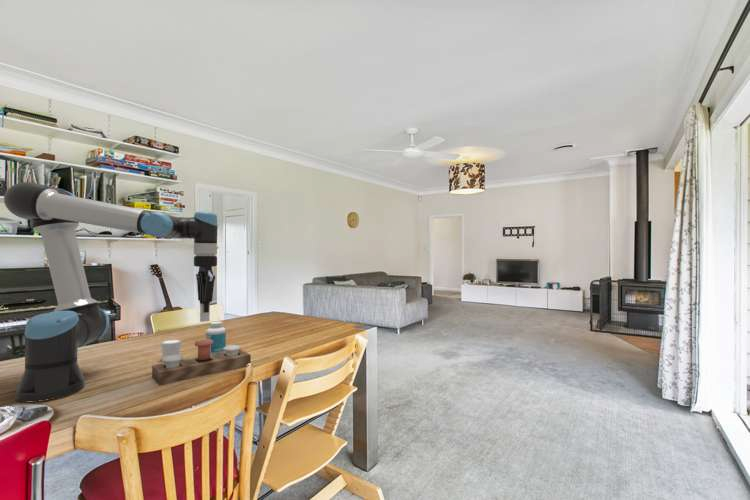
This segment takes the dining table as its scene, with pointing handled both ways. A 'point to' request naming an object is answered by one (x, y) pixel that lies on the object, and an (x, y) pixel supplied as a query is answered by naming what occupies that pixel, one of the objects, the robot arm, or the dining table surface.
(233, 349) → the grey plug right
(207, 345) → the brick-red plug
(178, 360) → the grey plug left
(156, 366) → the press board
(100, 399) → the dining table surface
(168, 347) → the light grey flanged plug
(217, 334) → the pill bottle
